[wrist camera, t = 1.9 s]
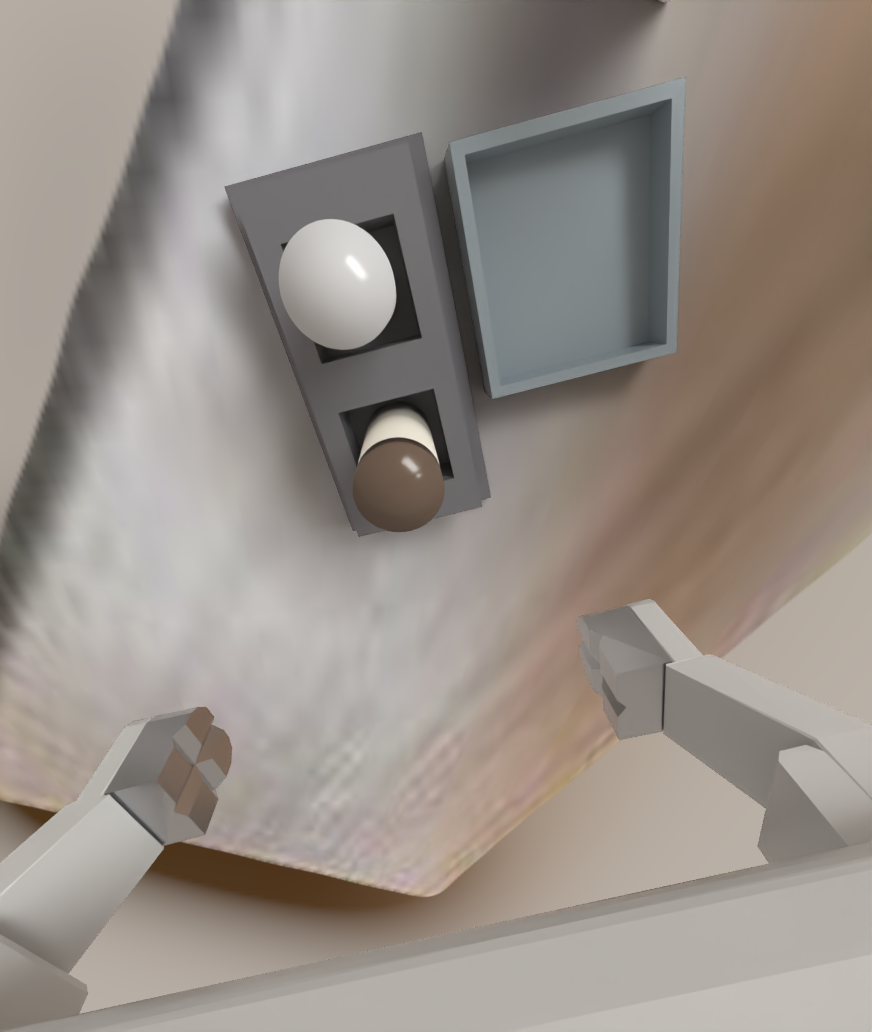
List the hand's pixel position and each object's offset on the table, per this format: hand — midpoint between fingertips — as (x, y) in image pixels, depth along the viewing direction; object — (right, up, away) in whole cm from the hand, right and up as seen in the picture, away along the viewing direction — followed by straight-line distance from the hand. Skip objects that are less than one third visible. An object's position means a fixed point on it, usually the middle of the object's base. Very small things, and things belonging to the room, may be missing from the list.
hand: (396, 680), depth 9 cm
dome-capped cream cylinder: (-3, +16, +14) cm, 21 cm away
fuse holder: (-3, +13, +17) cm, 21 cm away
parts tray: (+8, +18, +15) cm, 25 cm away
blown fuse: (-2, +9, +18) cm, 20 cm away
